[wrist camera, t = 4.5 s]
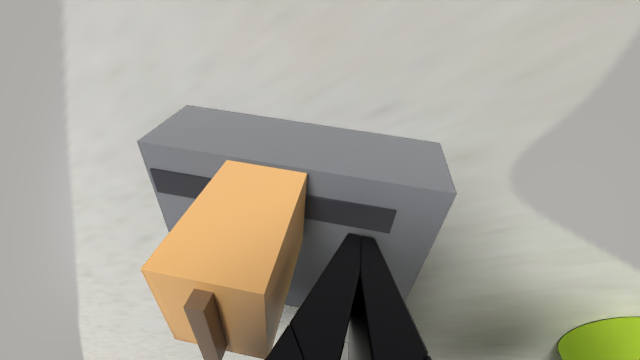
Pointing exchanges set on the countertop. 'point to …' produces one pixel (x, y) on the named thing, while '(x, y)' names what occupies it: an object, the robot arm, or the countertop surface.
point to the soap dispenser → (603, 340)
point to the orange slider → (231, 260)
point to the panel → (313, 183)
